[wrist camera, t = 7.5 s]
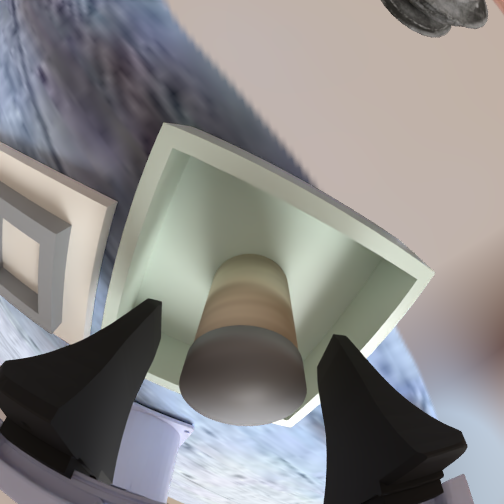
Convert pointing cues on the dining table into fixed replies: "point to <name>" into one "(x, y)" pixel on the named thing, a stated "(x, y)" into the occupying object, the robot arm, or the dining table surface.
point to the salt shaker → (438, 14)
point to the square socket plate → (50, 244)
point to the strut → (245, 347)
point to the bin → (254, 252)
